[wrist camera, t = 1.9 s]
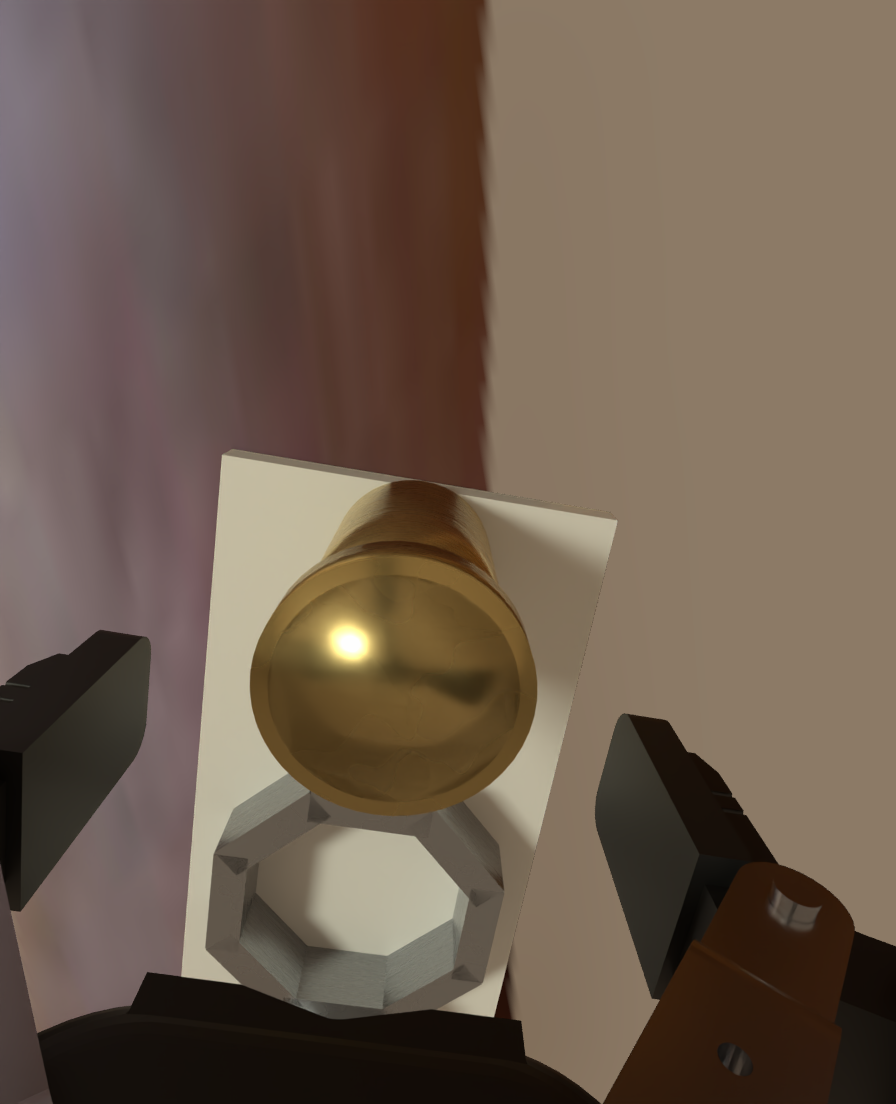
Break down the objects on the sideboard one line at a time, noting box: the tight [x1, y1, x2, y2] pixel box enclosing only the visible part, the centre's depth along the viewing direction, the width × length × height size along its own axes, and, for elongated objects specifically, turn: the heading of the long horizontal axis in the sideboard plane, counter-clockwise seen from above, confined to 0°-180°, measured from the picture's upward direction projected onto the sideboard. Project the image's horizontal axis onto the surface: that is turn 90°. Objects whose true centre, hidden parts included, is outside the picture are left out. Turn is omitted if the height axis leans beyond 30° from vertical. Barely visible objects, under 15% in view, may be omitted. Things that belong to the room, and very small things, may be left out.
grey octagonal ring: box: [205, 773, 504, 1019], centre depth 22 cm, size 11×9×4 cm
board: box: [181, 449, 618, 1017], centre depth 23 cm, size 20×11×1 cm, turn 170°
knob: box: [250, 480, 537, 816], centre depth 16 cm, size 5×5×8 cm
